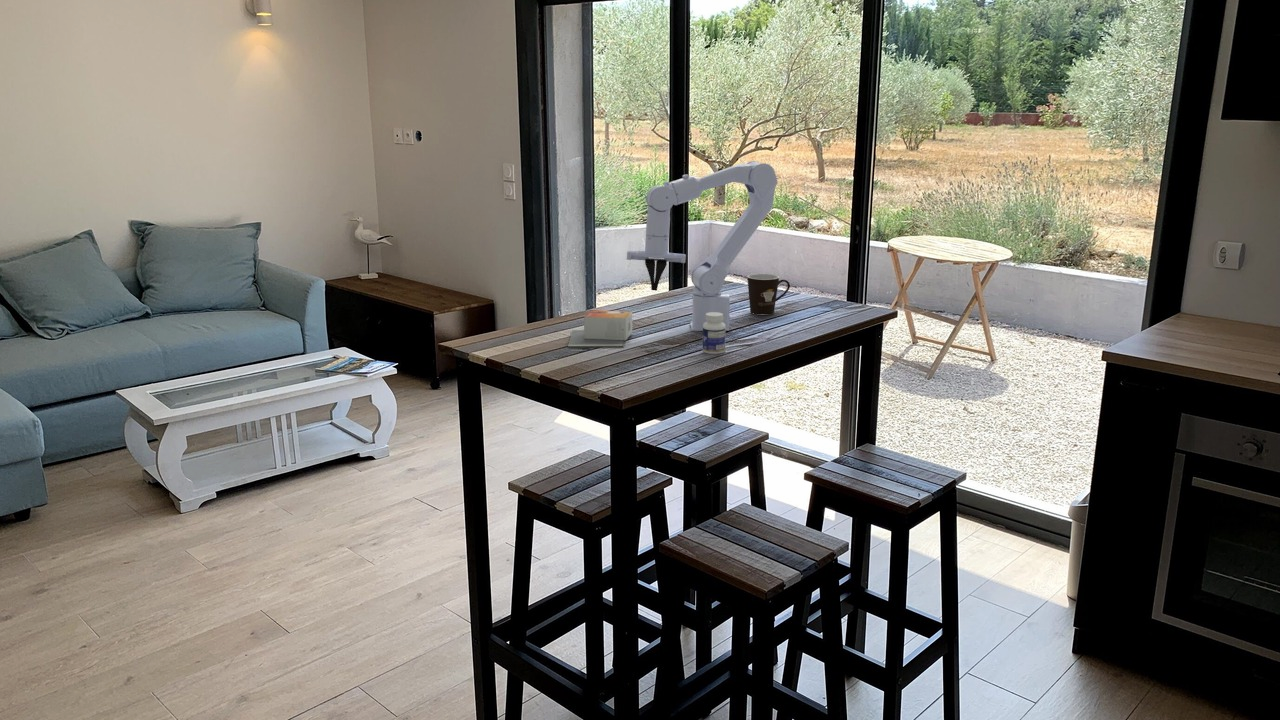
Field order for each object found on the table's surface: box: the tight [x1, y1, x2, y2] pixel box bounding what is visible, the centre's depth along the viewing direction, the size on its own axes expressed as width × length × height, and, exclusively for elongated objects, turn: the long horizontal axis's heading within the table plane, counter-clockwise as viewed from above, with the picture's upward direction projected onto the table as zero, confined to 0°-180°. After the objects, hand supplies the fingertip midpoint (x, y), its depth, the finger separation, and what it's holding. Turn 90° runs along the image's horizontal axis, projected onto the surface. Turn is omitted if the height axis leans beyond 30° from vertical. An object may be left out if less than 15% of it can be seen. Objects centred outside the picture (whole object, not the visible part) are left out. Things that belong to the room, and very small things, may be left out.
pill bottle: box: [702, 312, 727, 355], centre depth 213 cm, size 5×5×9 cm
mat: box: [567, 329, 625, 349], centre depth 225 cm, size 13×16×1 cm
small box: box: [583, 309, 633, 341], centre depth 226 cm, size 8×6×10 cm
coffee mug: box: [746, 273, 791, 315], centre depth 251 cm, size 12×9×10 cm
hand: (654, 289), depth 231 cm, fingers closed
